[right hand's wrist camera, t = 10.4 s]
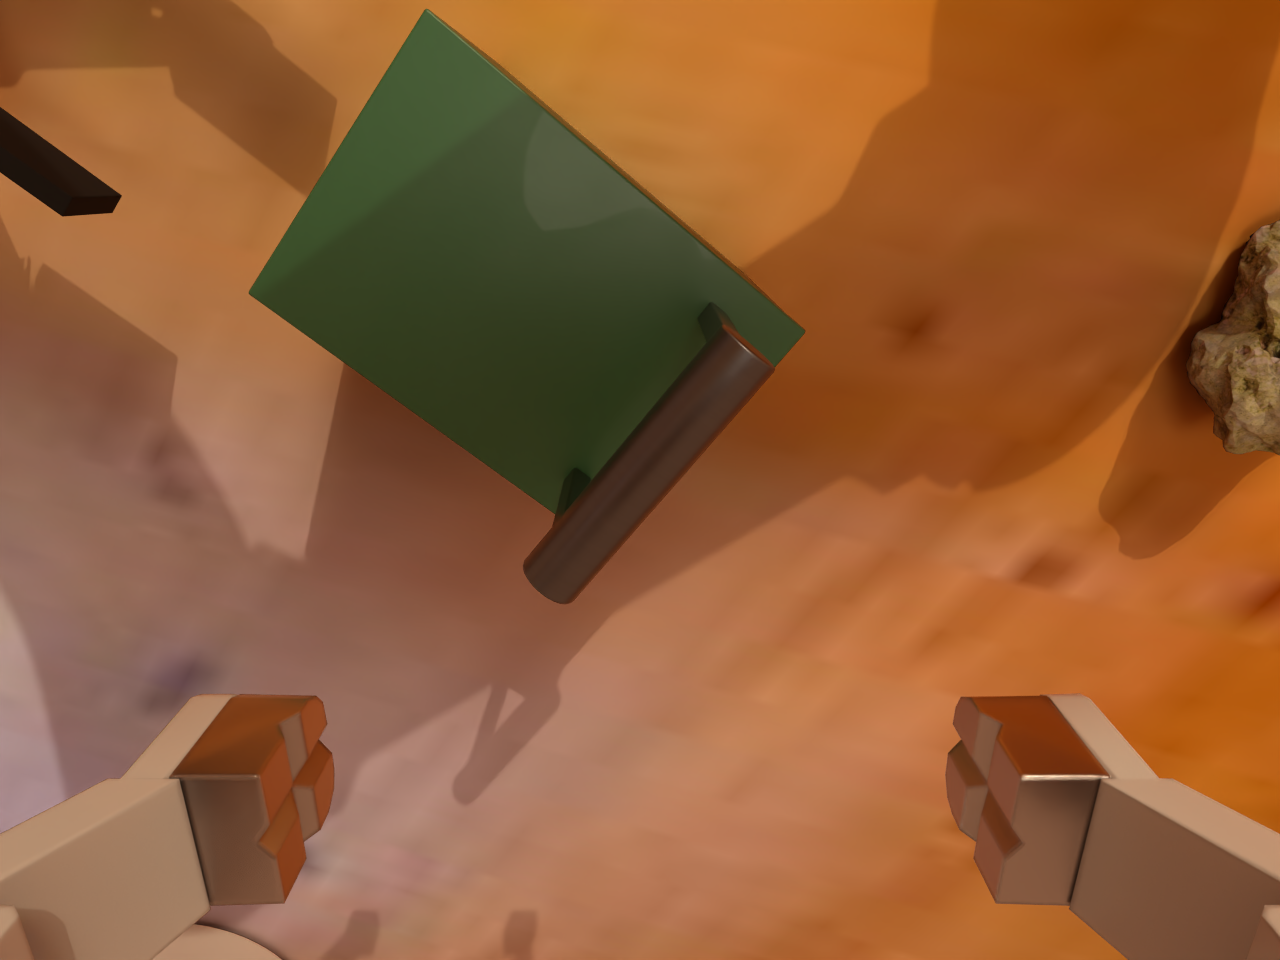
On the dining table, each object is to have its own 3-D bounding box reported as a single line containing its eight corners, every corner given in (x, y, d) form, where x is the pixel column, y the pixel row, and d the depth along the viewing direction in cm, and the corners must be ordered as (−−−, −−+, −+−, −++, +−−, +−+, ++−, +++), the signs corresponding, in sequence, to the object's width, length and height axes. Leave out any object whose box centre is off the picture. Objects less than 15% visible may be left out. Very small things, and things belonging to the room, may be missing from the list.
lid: (801, 326, 26) (868, 390, 18) (612, 543, 29) (601, 678, 21) (434, 13, 23) (330, -68, 15) (260, 289, 26) (97, 338, 18)
